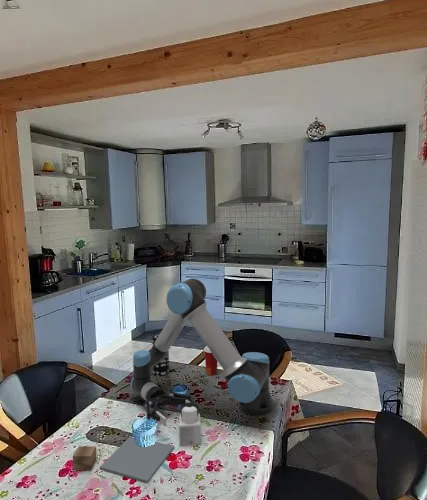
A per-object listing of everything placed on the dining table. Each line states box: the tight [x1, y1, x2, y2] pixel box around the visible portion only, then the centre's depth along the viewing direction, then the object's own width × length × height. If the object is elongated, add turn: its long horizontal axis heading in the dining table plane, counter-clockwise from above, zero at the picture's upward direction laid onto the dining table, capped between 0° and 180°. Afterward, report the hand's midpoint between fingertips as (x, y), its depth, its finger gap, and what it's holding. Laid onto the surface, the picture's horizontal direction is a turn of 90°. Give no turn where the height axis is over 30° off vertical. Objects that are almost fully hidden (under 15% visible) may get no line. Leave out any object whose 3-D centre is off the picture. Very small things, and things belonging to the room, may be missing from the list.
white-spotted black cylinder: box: [151, 333, 170, 378], centre depth 189 cm, size 8×8×20 cm
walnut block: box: [72, 445, 98, 471], centre depth 120 cm, size 6×5×5 cm
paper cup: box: [203, 346, 218, 376], centre depth 189 cm, size 8×8×14 cm
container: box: [178, 401, 202, 446], centre depth 133 cm, size 8×8×13 cm
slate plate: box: [99, 435, 175, 484], centre depth 123 cm, size 18×18×1 cm
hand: (180, 415), depth 137 cm, fingers open, 13 cm apart
